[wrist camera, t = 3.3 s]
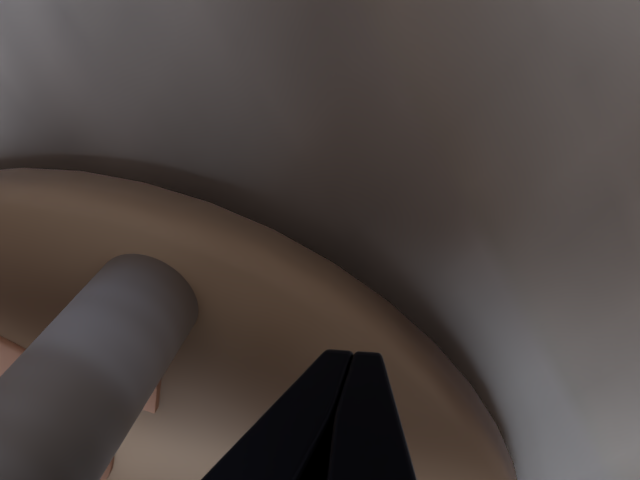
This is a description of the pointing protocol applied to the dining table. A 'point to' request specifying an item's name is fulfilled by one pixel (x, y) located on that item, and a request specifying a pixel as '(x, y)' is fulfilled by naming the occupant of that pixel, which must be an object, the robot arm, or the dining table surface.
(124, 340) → the turntable
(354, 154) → the dining table surface
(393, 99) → the dining table surface
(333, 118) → the dining table surface
